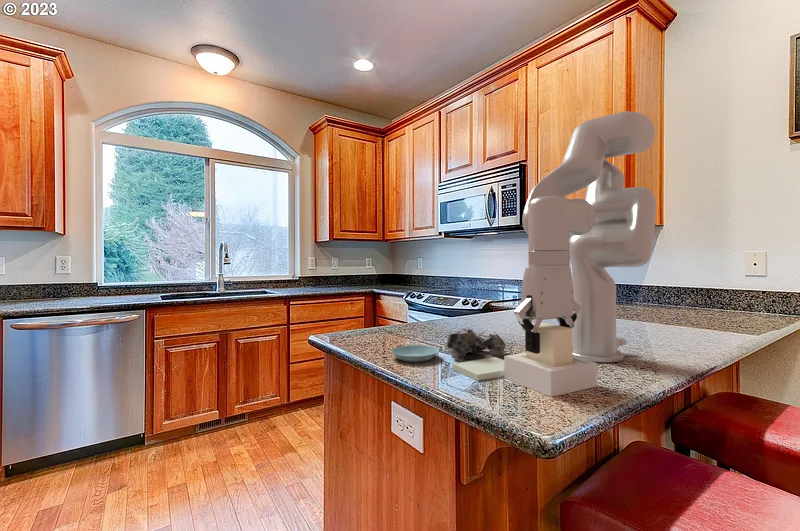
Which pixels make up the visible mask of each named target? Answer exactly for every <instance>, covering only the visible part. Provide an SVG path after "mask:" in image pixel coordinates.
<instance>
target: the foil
mask: <svg viewBox="0 0 800 531" xmlns="http://www.w3.org/2000/svg"><path fill="white" fill-rule="evenodd" d="M486 332H487V330H485V331H482V332H480V334H478V333H475V332H474V330H473V329H471V328H462V329H461V330H458V331H455V332H454V331H453V332H450V333H448V334H447V336H448V338H447V343H446V347H445V348H446V350H447V348H449V349H451V352H450V353H451V354H452V355H451V359H452V360H456V361H457V362H456V363H460V362H464V358H465V356H466V354H468V353H472V354H475V355H477V352H482V351H486V350H489V353H488V354H489V355H491V356H492V355H493V356H495V357H503V356H504V354H505V348H506V344H505V341H504V339H502V337H501V336H499V334H498V333H496V331H493V333H492V334H490V333H489V335H484V333H486ZM483 337H484V338H483ZM485 338H486V339H485Z"/></svg>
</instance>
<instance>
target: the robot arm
mask: <svg viewBox="0 0 800 531" xmlns="http://www.w3.org/2000/svg"><path fill="white" fill-rule="evenodd" d="M655 135H656V134H655V126H654V123H653V121H652V120H651V119H650V117H648V116H647V115H644V114H642V113H640V112H636V111H631V110H630V111H628V110H626V111H625V110H624V111H620V112H617V113H612V114H608V115H604V116H600V117H595V118H591V119H589V120H586V121H584V122H581V123H580V124H578V125H577V126H576V128H574V130H573V132H572V134H571V136H570V139H569V141H568V146H567V148H566V150H565V153H564V156H563V158H562V162H561V164H560V165H559V166H557V167H556V168H554V169H553V170H552V171H550V172H549V173H548V174H547V175H545V176H544V177H543V178H542V179H541V180H539V182H537V183H536V184H535V186H533V188H532V190H531V191H530V192H529V196H528V198H527V200H526V202H525V206H524V209H523V213H522V223H521V224H522V228H523V229H524V232H525V233H526V234H527V235H528V251H527V252H528V256H527V258H528V259H527V260H528V261H527V262H528V265H527V266H528V267H525V269H524V271H523V272H524V273H523V277H522V284H521V295H520V296H521V298H520V304H519V305H518V307H516V308H515V310H514V311H513V313H514V316H515V318H516V319H517V321H518V324H519V325H520V327H522V330H523V331H524V332H525V334H524V335H525V336H524V337H525V339H524V341H525V342H524V343H525V344H524V345H525V346H524V350H525V352H526V351H529V352H532V353H535V354H538V353H540V333H539V332H537V331H538V328H539V326H540V324H541V323H542V321H543V320H546V321H547V320H554V319H556V321H557V323H558V326H563V327H568V328H573V357H577V358H581V359H584V360H588V361H592V362H596V363H615V362H621V361H623V360H624V353H623V352H621V351H619V347H622V346H623V347H624V346H626V345H627V339H626V338H624V337H619V338H618V337H617V286H616V285H617V284H616V282H615V281H614V279H613V278H612V276H611V274H609V273H608V271H607V270H606V269H605V268H633V267H634V268H639V267H642V266H645V265H646V264H647V263H649V261H650V258H651V255H652V250H653V241H654V233H655V227H656V218H657V216H656V215H657V201H656V198H655V197H656V196H655V194H654V192H653V191H652V190H651V189H650V188H648V187H644V186H634V187H625V188H624V186H625V181H626V180H625V174H624V173H623V172H622V171H621V170H620V169H619V168H618V167H617V166H616V165H615V164H613V163H611V162H610V161H609V160H607V159H611V158H615V157H621V156H627V155H632V154H633V155H634V154H640V153H643V152H647V151H648V150H649V149H650V148H651V146H652V145H653V143H654V140H655ZM584 188H585V195H584V199H582V198H567V197H566V196H569V195H571V194H574V193H576V192H578V191H580V190H583V189H584ZM570 264H571V267H570ZM532 322H533V323H532Z"/></svg>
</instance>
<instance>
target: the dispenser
mask: <svg viewBox="0 0 800 531" xmlns="http://www.w3.org/2000/svg"><path fill="white" fill-rule="evenodd" d="M503 356H504V357H503V360H504V376H503V377H504V379H505V380H509V381H511V382H513V383H516V384H518V385H521V386H522V387H526V388H528V389H531V390H533V391H535V392H537V393H540V394H543V395H545V396H548V397H550V398H552V397H556V396H561V395H562V396H563V395H566V394H571V393H574V392H578V391H584V390H588V389H591V388H596V387H597V386H598V372H597V371H598V362H593V361H588V360H584V359H581V358H577V357H573V364H571V365H565V366H560V367H553V366H549V365H546V364H543V363H540V362H537V361H534V360H531V359H528V358H526V352H522V353H516V354H508V355H503Z"/></svg>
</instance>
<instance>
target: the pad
mask: <svg viewBox="0 0 800 531" xmlns="http://www.w3.org/2000/svg"><path fill="white" fill-rule="evenodd" d="M451 367H452V368H451V369H452V370H454V371H456V372H458V373H459V374H462V375H464V376H467V377H469V378H470V377H471V378H470V379H473V380H474V381H477V382H479V381H484V380H488V379H490V380H491V379H494V378H495V379H496V378H501V377H504V359H501V358H499V357H497V356H494V357H487V358H479V359H474V360H468V361H463V362H460V363H457V362H454V363H452V366H451Z"/></svg>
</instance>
